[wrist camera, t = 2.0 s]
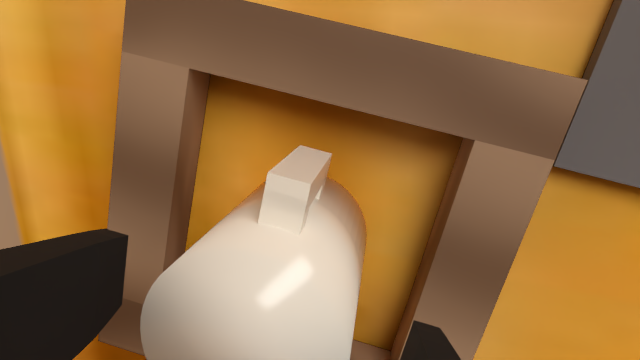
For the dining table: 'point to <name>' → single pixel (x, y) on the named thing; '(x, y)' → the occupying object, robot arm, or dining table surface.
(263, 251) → the jug
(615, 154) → the mat
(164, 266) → the jug holder
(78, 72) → the dining table surface
